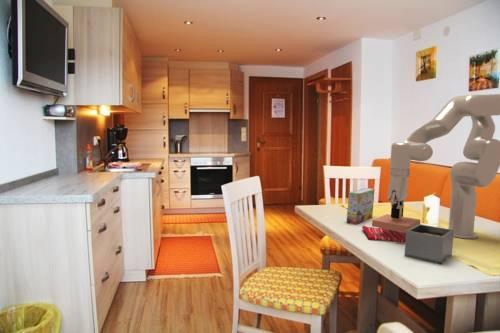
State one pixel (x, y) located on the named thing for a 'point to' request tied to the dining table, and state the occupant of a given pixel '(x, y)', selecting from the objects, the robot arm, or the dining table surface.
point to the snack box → (360, 205)
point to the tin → (429, 243)
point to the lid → (395, 222)
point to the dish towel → (384, 234)
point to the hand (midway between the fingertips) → (396, 216)
